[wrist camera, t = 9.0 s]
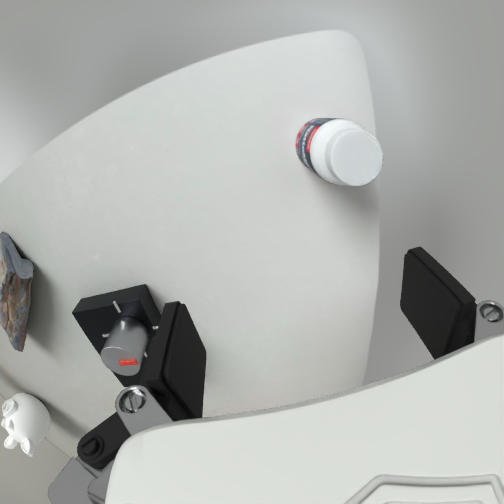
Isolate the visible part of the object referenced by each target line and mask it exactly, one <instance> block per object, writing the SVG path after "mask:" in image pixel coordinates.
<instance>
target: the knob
mask: <svg viewBox="0 0 504 504" xmlns="http://www.w3.org/2000/svg"><path fill="white" fill-rule="evenodd" d="M148 340H149V331H148V329H147V327H146V326H145V325H144V324H143V323H142V322H140V321H139V320H137V319H135V318H132V317H121V318H119V319H117V320H116V321H115V323H114V325H113V327H112V330H111V332H110V334H109V336H108V338H107V340H106V342H105V345H104V347H103V349H102V351H101V359H102V361H103V363H104V364H105V365H106V367H108V368H109V369H110V370H112V371H113V372H115V373H118V374H120V375H125V376H131V375H135V374H136V373H138V371H139V370H140V366H141V363H142V360H143V356H144V353H145V350H146V346H147V343H148Z"/></svg>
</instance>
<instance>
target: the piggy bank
mask: <svg viewBox="0 0 504 504" xmlns="http://www.w3.org/2000/svg"><path fill="white" fill-rule="evenodd" d="M2 412H3V416H4V417H5V418H4V419H3V421H2V423H1V426H3V427H4V428H5V429H6V430H7V431H8V433H9V434H10V435H9V436H8V437H7V438H6V440H5V442H4V447H6V448H7V449H13V448H15V447H16V445H17V442H19V443H21V448H22V450H23V451H24V452H25V453H26V454H27V455H29V456H30V457H32V456H33V455H34V447H36V446H38V445H40V444H41V443H42V441H43V440H44V439H45V437H46V435H47V433H48V431H49V428H50V415H49V412H48V410H47V409H46V407H45V406H44V405H43V403H42V402H41V401H39V400H38V399H37V398H35V397H34V396H32V395H29V394H26V393H18V394H15V395H13V396H12V397H11V399H8V400H6V401H5V402H4V403H3V405H2Z"/></svg>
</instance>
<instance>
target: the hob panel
mask: <svg viewBox="0 0 504 504" xmlns="http://www.w3.org/2000/svg"><path fill="white" fill-rule="evenodd" d="M72 314H73V315H74V317H75V319H76V320H77V322H78V323H79V325H80V327H81V328H82V330H83V331H84V333H85V334H86V336H87V337H88V339H89V340H90V342H91V343H92V345H93V346H94V347H95V349H96V350H97V352H98V353H99V355H100V356H101V351H102V349H103V347H104V345H105V342H106V340H107V338H108V336H109V334H110V332H111V330H112V327H113V325H114V323H115V321H116V320H117V319H119V318H121V317H132V318H135V319H137V320H139V321H140V322H142V323H143V324H144V325H145V326H146V327H147V329H148V331H149V340H148V343H147V346H146V350H145V353H144V356H143V360H142V363H141V366H140V370H139V371H138V373H136V374H135V375H131V376H125V375H120V374H118V373H115V372H113V371H112V370H111V371H112V372H113V373H114V375H115V376H116V377H117V378H118V380H119V381H120V382H121V383H122V385H123V386H124V387H130V386H133V385H139V383H140V380H141V376H142V372H143V368H144V365H145V361H146V358H147V354H148V351H149V347H150V344H151V340H152V338H153V337H154V336H156V333H157V329H158V326H159V322H160V319H161V315H160V313H159V311H158V309H157V307H156V305H155V303H154V301H153V299H152V297H151V294H150V292H149V290H148V288H147V286H146V284H144V285H139V286H135V287H131V288H127V289H122V290H118V291H114V292H109V293H105V294H101V295H96V296H92V297H87V298H83V299H81V300H80V301H79V303H78V304H77V306H76V307H75V309H74V310H73V312H72Z"/></svg>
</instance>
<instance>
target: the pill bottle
mask: <svg viewBox="0 0 504 504" xmlns="http://www.w3.org/2000/svg"><path fill="white" fill-rule="evenodd" d="M295 147H296V152H297V155H298V157H299V159H300V160H301V162H302V163H303V164H304V165H305V166H306V167H308V168H309V169H311V170H312V171H313V172H315V173H316V174H317V175H319V176H320V177H321V178H323V179H324V180H326V181H328V182H330V183H333V184H336V185H350V186H363V185H366V184H368V183H370V182H371V181H373V180H374V179H375V178H376V177H377V175H378V174H379V172H380V170H381V168H382V164H383V152H382V148H381V146H380V144H379V142H378V141H377V139H376V138H375V137H374V136H373V135H371V134H370V133H368V132H367V131H366V130H365V129H364V128H363V127H362V126H360V125H359V124H358V123H356V122H353V121H351V120H347V119H336V118H316V119H312V120H310V121H308V122H307V123H305V124H304V125H303V126H302V127H301V128H300V130H299V131H298V134H297V136H296V141H295Z"/></svg>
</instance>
